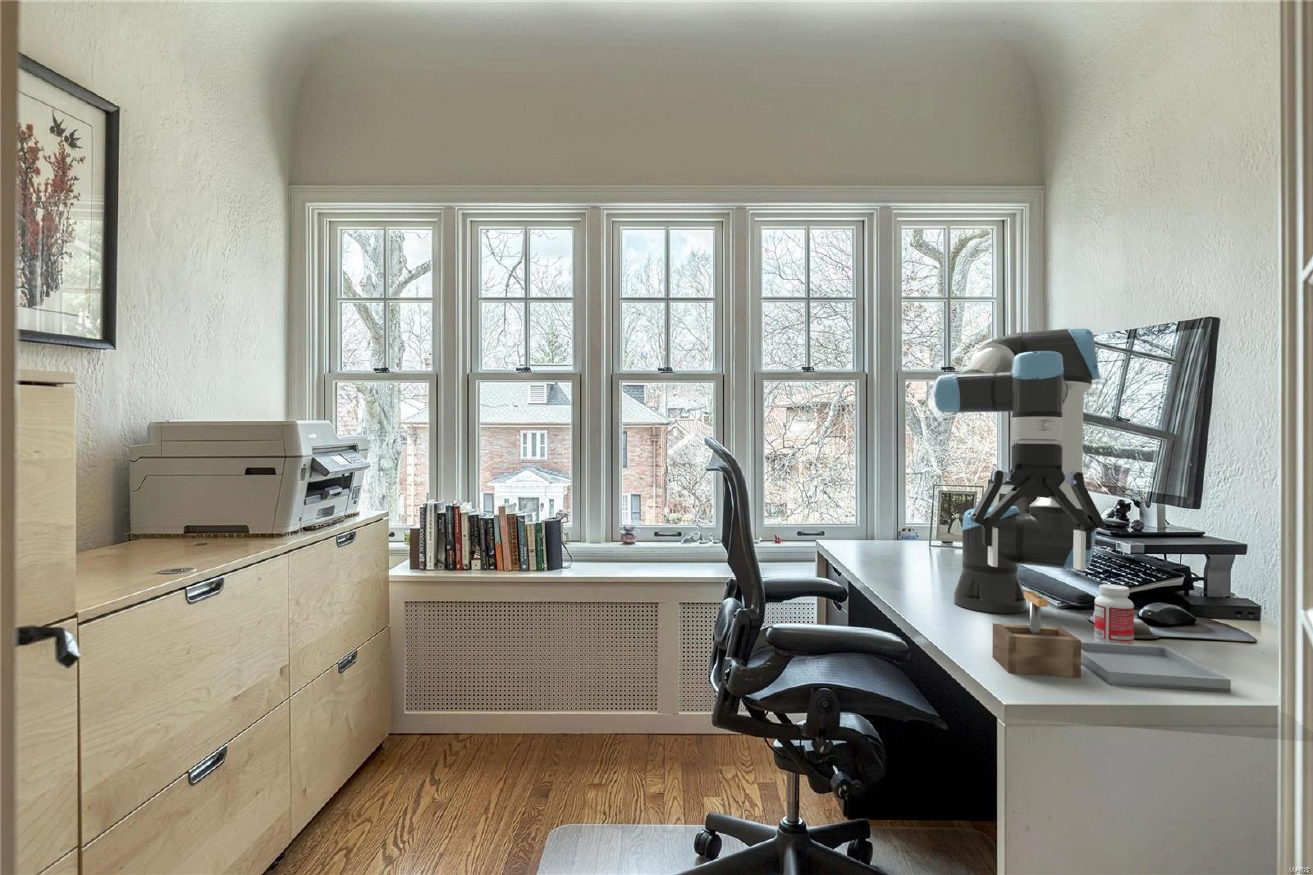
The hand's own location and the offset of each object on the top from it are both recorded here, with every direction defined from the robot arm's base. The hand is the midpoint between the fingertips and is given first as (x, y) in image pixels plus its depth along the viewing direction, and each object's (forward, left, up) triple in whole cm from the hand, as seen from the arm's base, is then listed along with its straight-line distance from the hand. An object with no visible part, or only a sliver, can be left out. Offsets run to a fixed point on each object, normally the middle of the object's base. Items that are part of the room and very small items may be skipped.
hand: (1035, 567), depth 113 cm
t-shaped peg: (0, 0, -17) cm, 17 cm away
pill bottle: (-17, +20, -17) cm, 32 cm away
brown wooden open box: (0, 0, -17) cm, 17 cm away
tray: (-2, +17, -17) cm, 24 cm away
